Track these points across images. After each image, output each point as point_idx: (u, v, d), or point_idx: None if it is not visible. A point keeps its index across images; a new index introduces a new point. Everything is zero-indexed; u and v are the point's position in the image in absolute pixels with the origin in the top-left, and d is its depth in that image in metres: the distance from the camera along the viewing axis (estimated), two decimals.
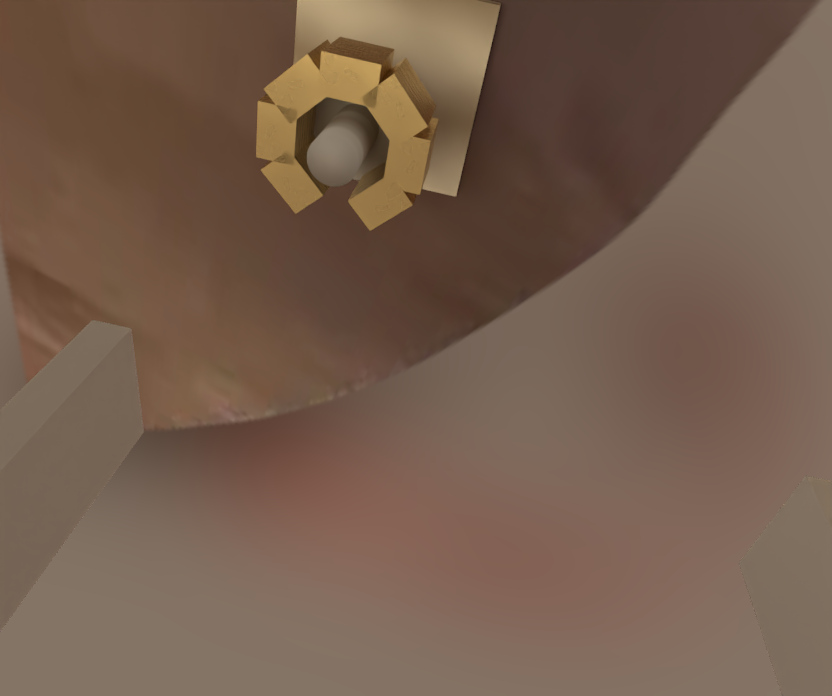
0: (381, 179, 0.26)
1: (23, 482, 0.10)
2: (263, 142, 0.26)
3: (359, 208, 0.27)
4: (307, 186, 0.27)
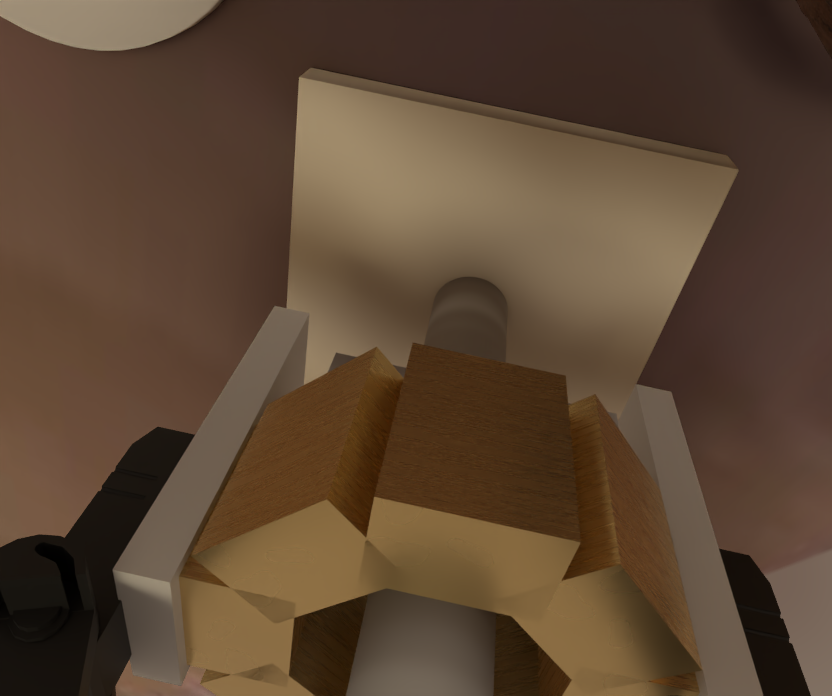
0: None
1: None
2: (202, 644, 0.09)
3: None
4: None
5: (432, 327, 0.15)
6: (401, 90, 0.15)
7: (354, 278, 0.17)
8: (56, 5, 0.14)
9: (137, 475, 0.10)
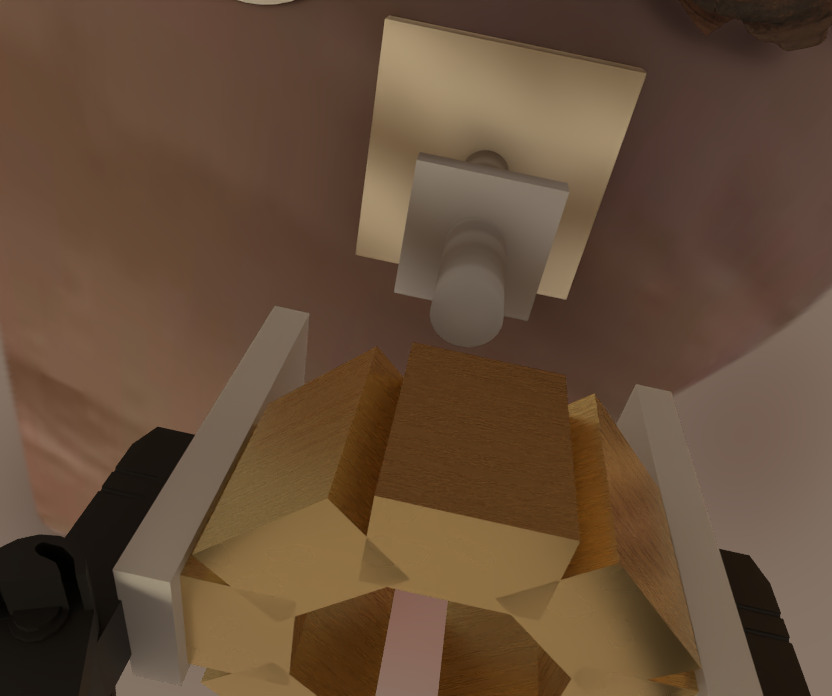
0: None
1: None
2: (203, 643, 0.09)
3: None
4: None
5: None
6: (445, 28, 0.24)
7: (411, 153, 0.27)
8: None
9: (137, 475, 0.10)
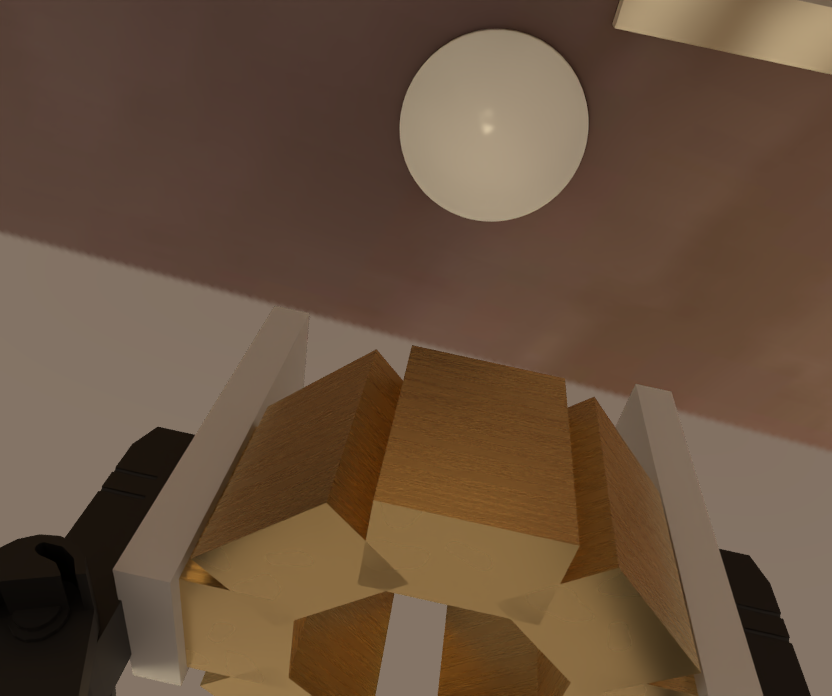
0: None
1: None
2: (202, 646, 0.09)
3: None
4: None
5: None
6: None
7: (746, 4, 0.26)
8: (564, 156, 0.31)
9: (137, 475, 0.10)
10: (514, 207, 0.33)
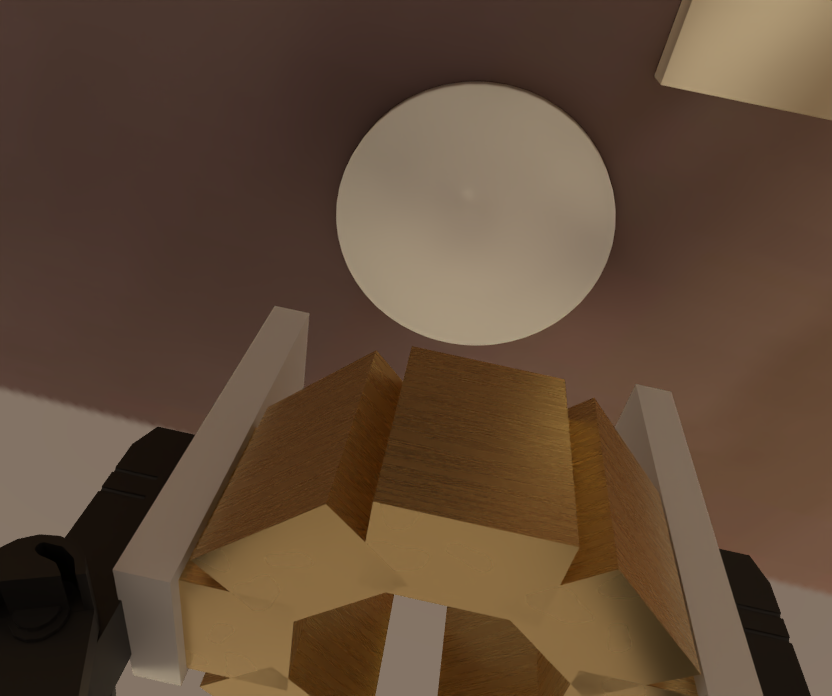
0: None
1: None
2: (201, 648, 0.09)
3: None
4: None
5: None
6: None
7: None
8: (579, 263, 0.21)
9: (137, 475, 0.10)
10: (506, 328, 0.23)
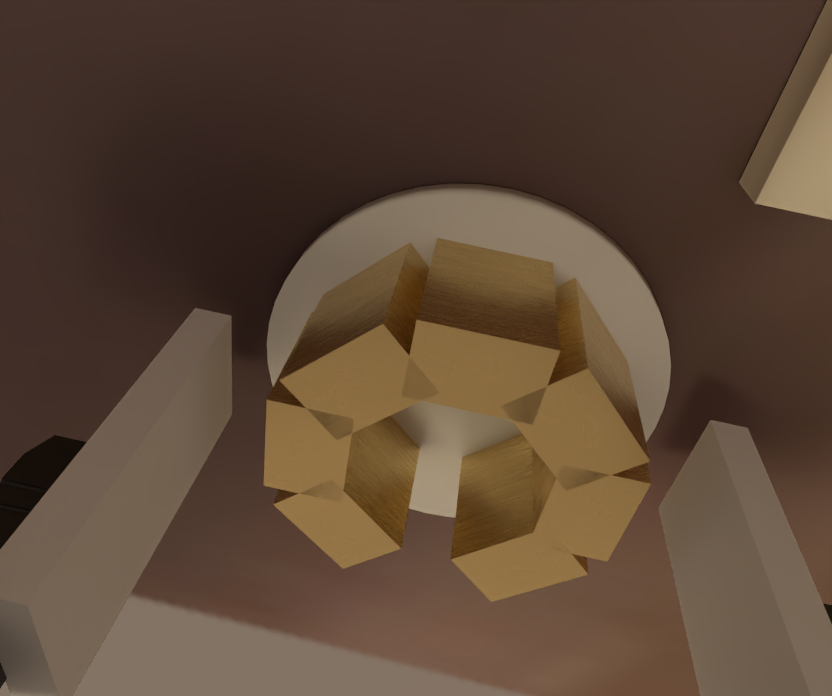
0: (526, 532, 0.13)
1: (154, 454, 0.10)
2: (279, 465, 0.12)
3: (474, 570, 0.13)
4: (369, 533, 0.13)
5: None
6: (809, 55, 0.10)
7: None
8: None
9: (24, 487, 0.10)
10: None
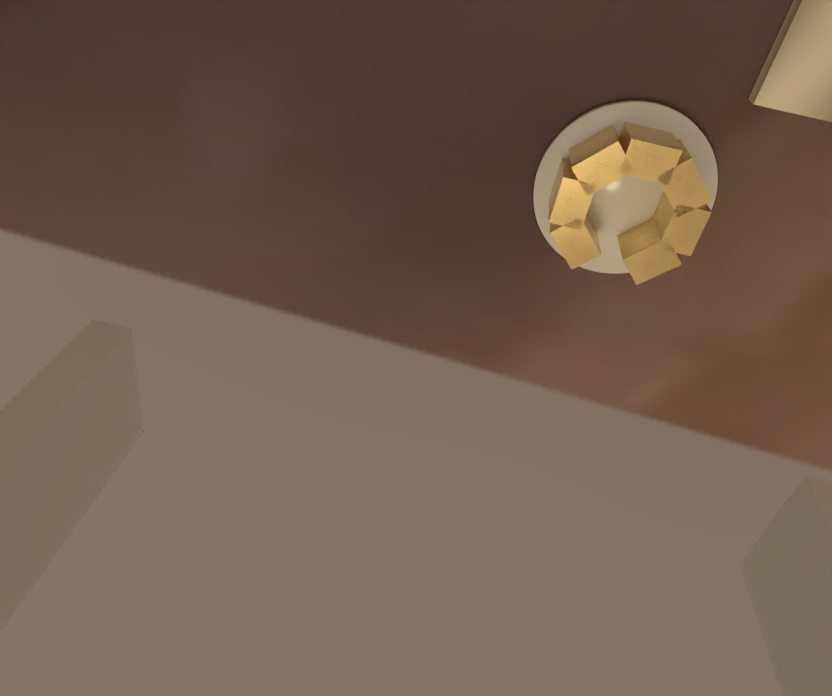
0: (657, 242, 0.31)
1: (22, 483, 0.10)
2: (558, 210, 0.31)
3: (631, 266, 0.31)
4: (589, 247, 0.31)
5: None
6: (773, 49, 0.28)
7: None
8: None
9: None
10: None
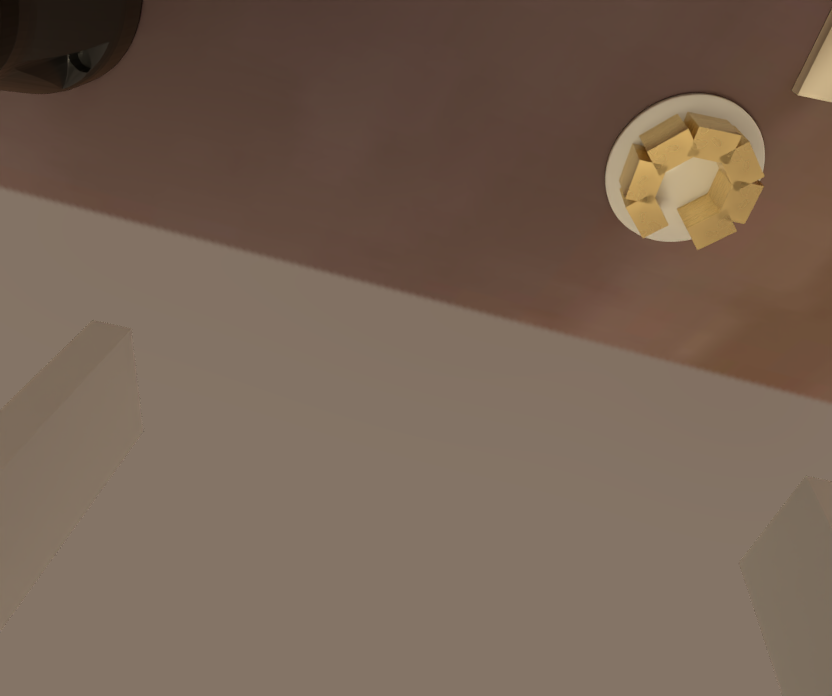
0: (717, 213, 0.37)
1: (23, 482, 0.10)
2: (634, 188, 0.36)
3: (694, 234, 0.37)
4: (658, 219, 0.37)
5: None
6: (814, 48, 0.34)
7: None
8: None
9: None
10: None
